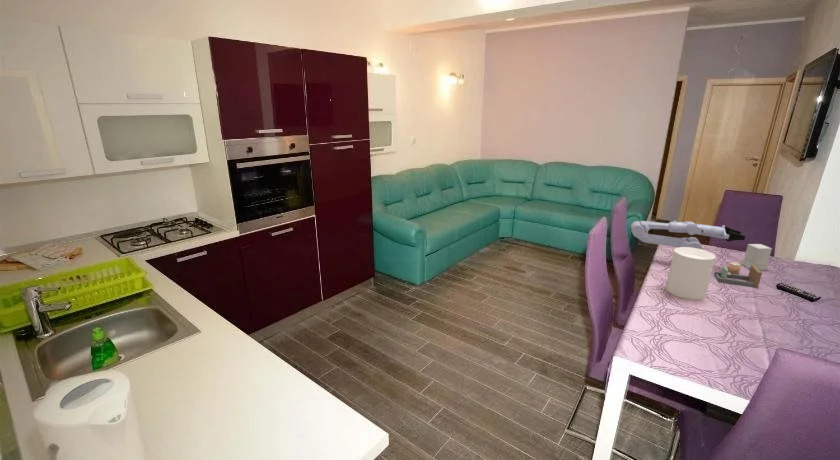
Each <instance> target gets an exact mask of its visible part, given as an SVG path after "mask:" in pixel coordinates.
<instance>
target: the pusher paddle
mask: <svg viewBox="0 0 840 460" xmlns="http://www.w3.org/2000/svg"><path fill="white" fill-rule="evenodd" d="M720 272H721V275H720V278H726V279H728V278H727V275H729V276H730V275H731V273H728V267H727V266H726V265H722V268H721V271H720Z"/></svg>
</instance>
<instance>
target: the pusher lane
mask: <svg viewBox="0 0 840 460" xmlns="http://www.w3.org/2000/svg"><path fill="white" fill-rule="evenodd" d="M713 275H714V277H715V278H716V281H717V282H718V283H722V284H730V285H736V286H743V287H750V288H756V289H758V288H759V286H760V282H761V278H762V276H763V272H762V270H759V269H758V268H757V267H756V266H755V265H751V268H749V272H748V275H743V274H739V275H738V274H731V275H730V276H729V275H727V278H721V277H720V275H721V271H714V274H713Z"/></svg>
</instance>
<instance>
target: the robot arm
mask: <svg viewBox="0 0 840 460" xmlns="http://www.w3.org/2000/svg"><path fill="white" fill-rule="evenodd" d="M630 228H631V229H630V230H631V234H632V235H633V236H634V237H635V238H637V239H638V240H640V241H641V242H642V243H647V244H653V245H660V246H665V247H666V246H667V247H673V248H678V247H691V248H697V249H702V250H703V245H702V244H701V243H700V240H699V239H698V238H697V237H694V236H693V235H700V236H703V237H704V236H705V237H706V236H707V237H711V238H716V239H717V238H718V239H720V240H721V239H725V241H726V242H728V243H729V242H734V241H745V239H746V235H743V234H742V231H739V230H738V229H737V230H736V229H733V228H731V227H729V226H727V225H724V224H723V225H722V226H717V225H716V226H715V225H709V224H704V223H703V224H700V223H695V222H693V221H691V220H690V221H689V220H688V221H684V222H683V221H677V220H673V221H669V222H667V223H666V222H657V221H649V220H648V221H647V220H635V221H632V222H631V223H630ZM650 230H668V232H669V233H679V234H682V233H687V235H690V236H691V237H681V238H680V237H673V236H666V235H665V236H664V235H659V234H651V233H648V231H650Z"/></svg>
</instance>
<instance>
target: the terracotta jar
mask: <svg viewBox="0 0 840 460" xmlns="http://www.w3.org/2000/svg"><path fill="white" fill-rule="evenodd" d="M741 267H742V265H741V263H739V262H736V261H730V262H729V263H728V265H727V269H728V273H731V274H738V275H740V271H741Z"/></svg>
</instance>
